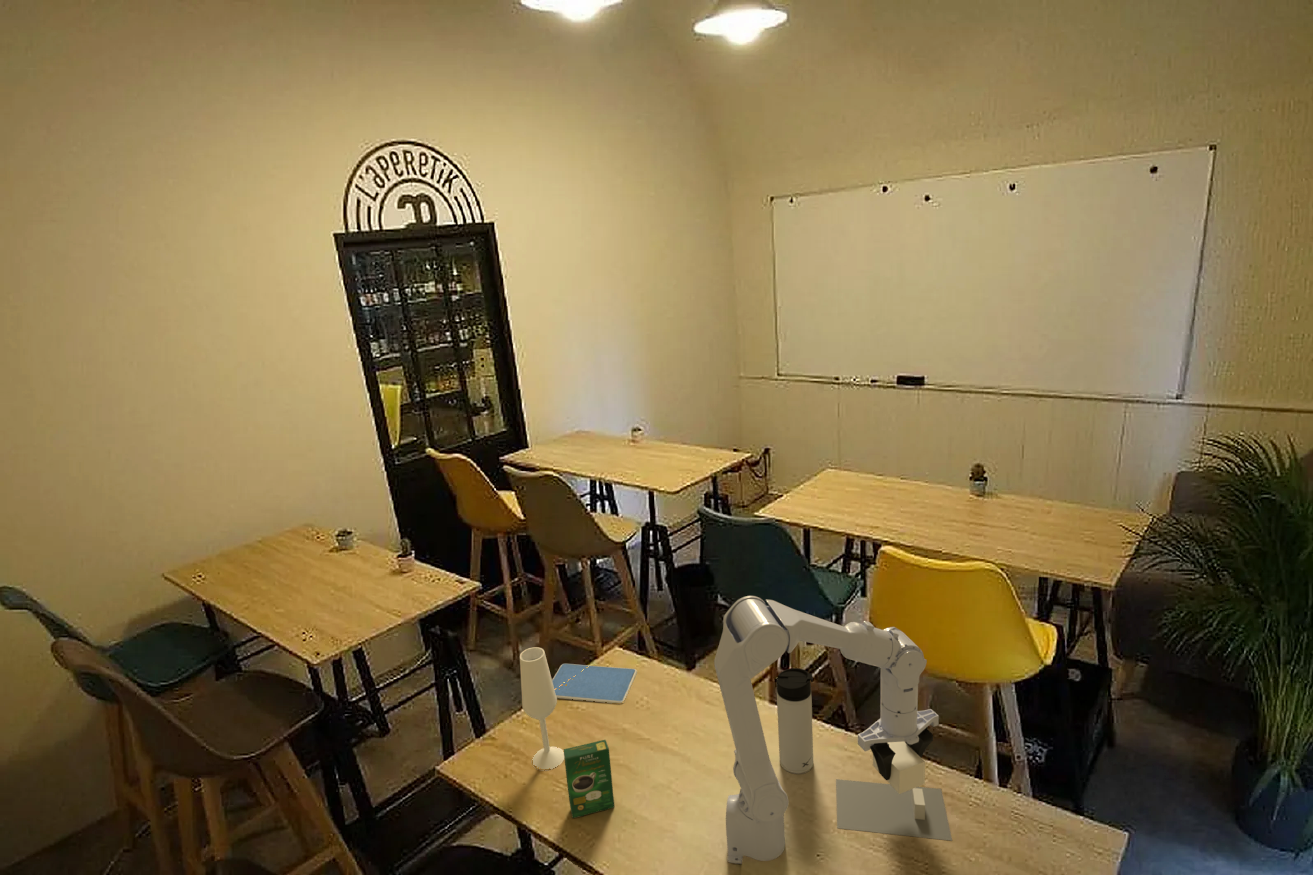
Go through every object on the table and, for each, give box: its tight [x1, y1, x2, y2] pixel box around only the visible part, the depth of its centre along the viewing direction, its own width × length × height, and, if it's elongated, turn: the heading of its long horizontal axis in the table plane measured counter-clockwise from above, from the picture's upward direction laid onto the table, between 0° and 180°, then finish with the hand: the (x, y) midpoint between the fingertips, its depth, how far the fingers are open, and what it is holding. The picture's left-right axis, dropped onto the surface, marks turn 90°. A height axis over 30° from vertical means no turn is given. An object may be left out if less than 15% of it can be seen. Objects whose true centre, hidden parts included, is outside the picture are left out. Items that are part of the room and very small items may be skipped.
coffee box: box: [563, 739, 615, 819], centre depth 125 cm, size 8×3×13 cm, turn 104°
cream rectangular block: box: [872, 741, 926, 794], centre depth 117 cm, size 5×7×4 cm
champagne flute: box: [519, 646, 565, 770], centre depth 137 cm, size 7×7×24 cm
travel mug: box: [775, 667, 814, 775], centre depth 130 cm, size 6×7×20 cm
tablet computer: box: [551, 663, 638, 704], centre depth 162 cm, size 19×13×1 cm, turn 76°
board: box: [835, 778, 953, 842], centre depth 120 cm, size 18×11×4 cm, turn 77°
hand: (898, 770), depth 118 cm, fingers closed on cream rectangular block, 5 cm apart
